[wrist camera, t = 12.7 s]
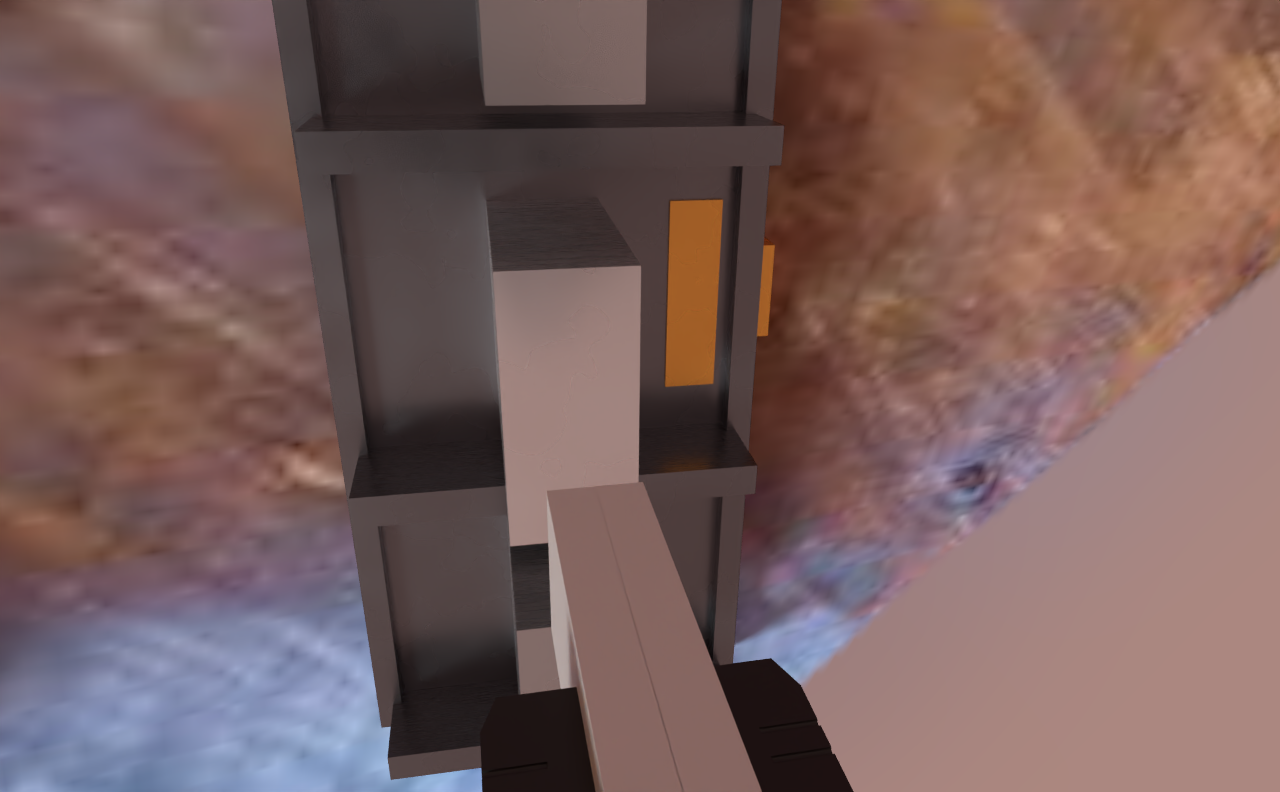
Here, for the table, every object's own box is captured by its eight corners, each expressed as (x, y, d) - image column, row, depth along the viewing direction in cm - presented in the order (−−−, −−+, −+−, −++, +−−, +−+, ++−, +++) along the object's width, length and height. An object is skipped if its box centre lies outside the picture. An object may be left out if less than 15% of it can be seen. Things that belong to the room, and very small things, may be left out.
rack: (234, -350, 20) (99, -550, 12) (803, -307, 22) (972, -456, 15) (385, 691, 33) (362, 892, 25) (733, 650, 35) (803, 824, 28)
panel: (485, 200, 25) (492, 271, 18) (597, 197, 25) (640, 265, 19) (499, 420, 28) (510, 546, 21) (599, 413, 28) (637, 534, 22)
